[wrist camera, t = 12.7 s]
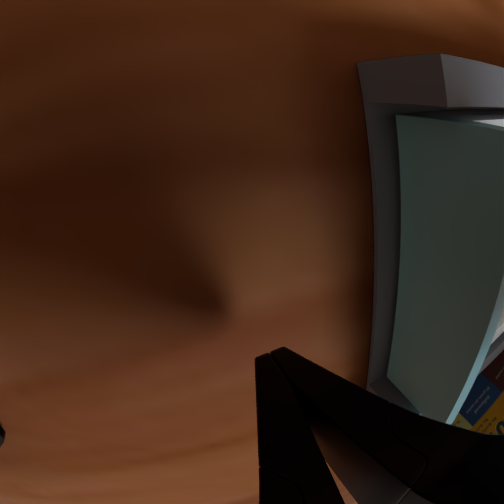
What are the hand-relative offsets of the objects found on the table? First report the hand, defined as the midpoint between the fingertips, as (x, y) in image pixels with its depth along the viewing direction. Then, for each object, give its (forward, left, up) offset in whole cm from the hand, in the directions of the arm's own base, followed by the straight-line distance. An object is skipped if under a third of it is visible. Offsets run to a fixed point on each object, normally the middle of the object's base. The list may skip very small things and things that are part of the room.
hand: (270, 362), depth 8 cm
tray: (+14, -7, -1) cm, 16 cm away
